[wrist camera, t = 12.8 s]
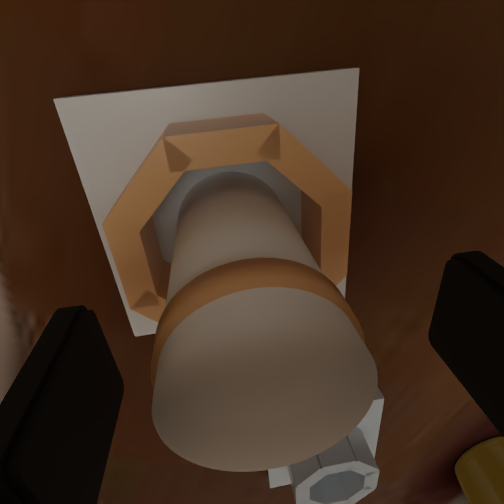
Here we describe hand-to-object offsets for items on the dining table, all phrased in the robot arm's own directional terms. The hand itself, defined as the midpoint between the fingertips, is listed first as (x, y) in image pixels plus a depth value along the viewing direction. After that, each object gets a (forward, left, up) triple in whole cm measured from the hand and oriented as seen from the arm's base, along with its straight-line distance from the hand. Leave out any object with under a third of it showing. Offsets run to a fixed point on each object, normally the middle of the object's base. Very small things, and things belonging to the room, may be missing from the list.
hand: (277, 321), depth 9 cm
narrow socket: (-4, +20, -9) cm, 23 cm away
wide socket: (+1, 0, -9) cm, 9 cm away
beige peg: (+1, 0, -8) cm, 8 cm away
